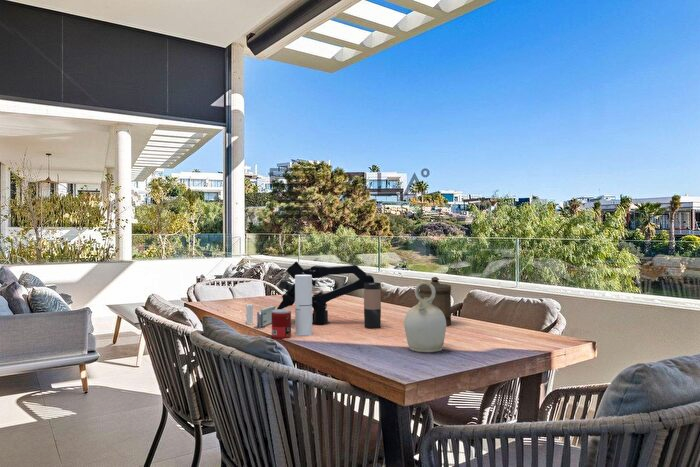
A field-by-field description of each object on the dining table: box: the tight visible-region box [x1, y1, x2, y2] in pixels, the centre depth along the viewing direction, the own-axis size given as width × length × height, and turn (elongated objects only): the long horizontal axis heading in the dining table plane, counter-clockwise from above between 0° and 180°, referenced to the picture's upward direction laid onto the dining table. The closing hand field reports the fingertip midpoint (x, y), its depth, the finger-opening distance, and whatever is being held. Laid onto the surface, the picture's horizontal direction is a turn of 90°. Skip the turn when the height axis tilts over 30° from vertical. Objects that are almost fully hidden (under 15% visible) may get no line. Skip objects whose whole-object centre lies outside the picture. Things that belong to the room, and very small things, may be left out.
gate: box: [260, 305, 277, 326], centre depth 239 cm, size 12×2×7 cm, turn 161°
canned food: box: [271, 308, 292, 340], centre depth 211 cm, size 8×8×11 cm
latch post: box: [245, 303, 254, 325], centre depth 243 cm, size 6×3×9 cm, turn 25°
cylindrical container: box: [294, 275, 313, 337], centre depth 216 cm, size 7×7×25 cm
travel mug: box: [363, 281, 382, 330], centre depth 230 cm, size 8×8×20 cm
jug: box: [403, 280, 447, 354], centre depth 188 cm, size 15×16×25 cm
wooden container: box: [419, 276, 452, 327], centre depth 238 cm, size 15×15×22 cm
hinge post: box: [253, 311, 267, 329], centre depth 231 cm, size 4×4×7 cm
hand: (277, 309), depth 241 cm, fingers closed
